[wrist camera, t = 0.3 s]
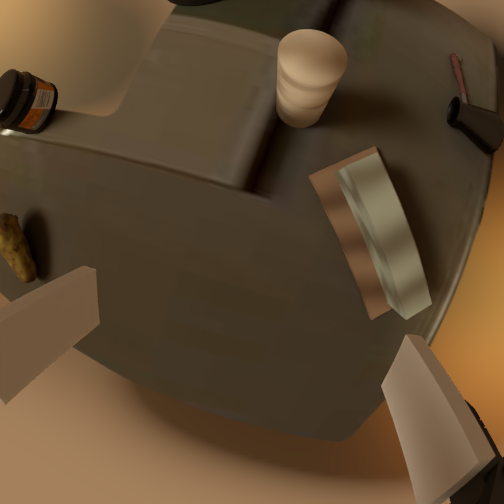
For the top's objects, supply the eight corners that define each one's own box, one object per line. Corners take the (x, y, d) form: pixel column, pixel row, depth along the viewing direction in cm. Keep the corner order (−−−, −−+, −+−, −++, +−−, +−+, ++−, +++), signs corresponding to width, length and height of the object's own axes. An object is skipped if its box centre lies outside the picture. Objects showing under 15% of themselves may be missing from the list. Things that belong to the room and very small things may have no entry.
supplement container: (67, 102, 34) (22, 82, 22) (34, 146, 35) (-12, 138, 23) (51, 75, 33) (13, 56, 21) (21, 116, 34) (-19, 105, 22)
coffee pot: (482, 161, 30) (443, 139, 31) (477, 83, 29) (441, 63, 31) (507, 146, 23) (464, 119, 24) (494, 64, 22) (455, 40, 23)
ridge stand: (308, 176, 33) (317, 168, 26) (372, 147, 32) (393, 135, 25) (369, 317, 35) (387, 338, 29) (425, 284, 34) (450, 298, 27)
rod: (277, 86, 32) (278, 26, 18) (321, 90, 31) (344, 34, 17) (275, 126, 33) (277, 78, 19) (321, 130, 32) (349, 86, 18)
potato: (21, 278, 39) (-7, 288, 31) (14, 213, 37) (-15, 216, 29) (44, 280, 39) (14, 291, 31) (37, 208, 37) (6, 210, 29)
